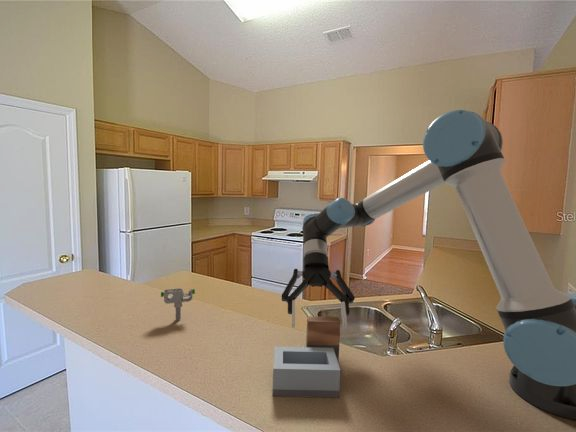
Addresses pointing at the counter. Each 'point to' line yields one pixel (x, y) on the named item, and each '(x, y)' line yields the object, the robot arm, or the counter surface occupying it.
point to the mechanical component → (177, 299)
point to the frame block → (305, 372)
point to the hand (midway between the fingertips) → (319, 326)
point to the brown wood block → (323, 333)
